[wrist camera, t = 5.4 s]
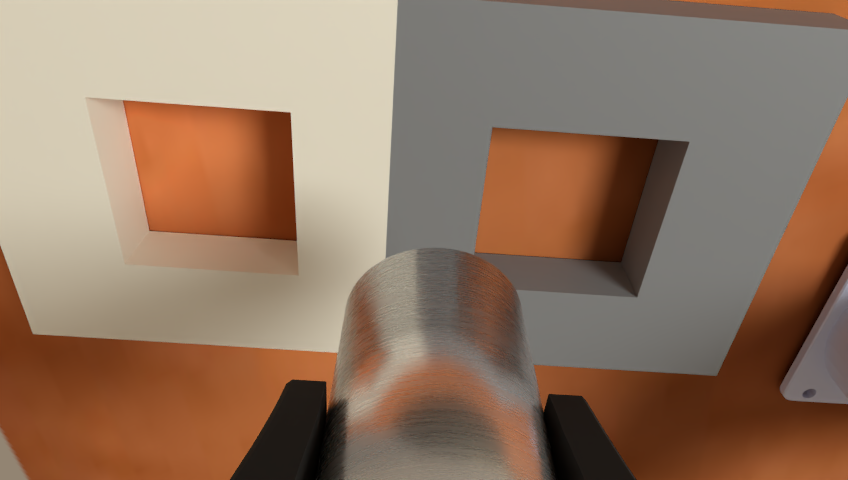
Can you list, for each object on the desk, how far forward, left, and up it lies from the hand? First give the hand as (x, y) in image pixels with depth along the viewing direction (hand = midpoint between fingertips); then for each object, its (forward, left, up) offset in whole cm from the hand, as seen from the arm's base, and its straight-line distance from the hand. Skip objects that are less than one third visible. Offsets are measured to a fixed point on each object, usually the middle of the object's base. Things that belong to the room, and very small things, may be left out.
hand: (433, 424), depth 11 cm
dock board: (+1, 0, -10) cm, 10 cm away
